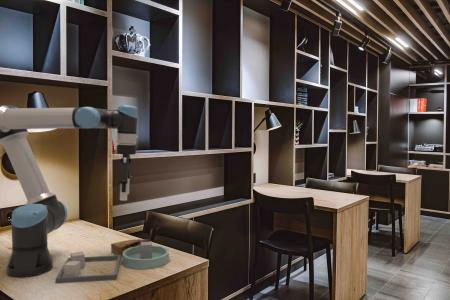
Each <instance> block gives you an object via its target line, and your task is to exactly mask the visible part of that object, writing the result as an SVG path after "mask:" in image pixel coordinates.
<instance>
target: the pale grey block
mask: <svg viewBox="0 0 450 300" xmlns="http://www.w3.org/2000/svg"><path fill="white" fill-rule="evenodd" d="M69 253H70V254H69V255H70V258H71V261H80V269H84V268H86V262H85V257H86V255H85V253H84V251H82V250H81V251H76V252H69Z"/></svg>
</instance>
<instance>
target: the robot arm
mask: <svg viewBox="0 0 450 300" xmlns="http://www.w3.org/2000/svg"><path fill="white" fill-rule="evenodd" d="M138 118H139V117H138V107H136V106H135V105H126V104H123V105H122V104H120V105H118V107H117V109H107V108H106V109H103V108H97V107H96V108H95V107H92V106H83V107H23V108H22V107H20V108H19V107H16V106H14V105H9V104H7V105H6V104H4V105H3V104H0V145H2V146H3V148H4V149H5V153H6V154H7V156H8V159H9V161H10V163H11V166H12V169H13V170H14V173H15V175H16V177H17V179H18V182H19V184H20V187H21V188H22V191H23V193H24V195H25V198H26V200H27V202H26V204H25V205H22V206H18V207H16V208H15V209H14V210H13V211H12V213H11V220H10V223H11V246H12V247H11V249H12V251H11V254H10V257H9V259H8V262H7V267H6V273H7V275H8V276H10V277H15V278H27V277H33V276H38V275H42V274H45V273H48V272H49V271H51V270H52V269H53V267H54V264H53V263H54V261H53V258H52V255H51V253H50V250H49V247H48V235H49V234H50V233H52V232H54V231H56V230H58V229H59V228H60V227H62V226H63V225H64V224H65V222H66V221H67V217H68V208H67V206H66V204H65V203H63V202H62V201H60V200H58V198H57V195H56V194H55V193H53V192H50V189H49V188H48V185H47V183H46V180H45V178H44V176H43V173H42V171H41V169H40V166H39V164H38V162H37V160H36V157H35V155H34V153H33V150H32V148H31V146H30V144H29V141H28V139H27V138H28V135H29V131H28V130H38V129H39V130H45V129H52V130H53V129H113V130H115V129H116V130H117V131H116V144H117V145H116V154H117V155H122V157H121V158H120V180H119V181H118V184H119V201H126V202H127V201H128V195H130V185H131V184H130V182H131V181H130V180H131V179H132V175H131V173H130V172H131V164H132V158H131V155H133V156H134V155H136V154H137V146H136V144H137V139H139V137H138V135H137V133H138V132H137V131H138V130H137V127H138Z"/></svg>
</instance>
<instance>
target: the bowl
mask: <svg viewBox="0 0 450 300" xmlns="http://www.w3.org/2000/svg"><path fill="white" fill-rule="evenodd" d="M169 251H170V250H169V249H168V248H166V247H165V246H162V245H156V244H152V259H141V245H140V246H136V247H131V248H128V249H126V250H125V251H123V255H122V257H121V261H122V262H121V263H122V265H123V266H125V267H126V268H130V269H135V270H148V269H150V270H151V269H155V268H159V267H162V266H163V267H164V265H166V264H168V263H169V262H170V252H169Z"/></svg>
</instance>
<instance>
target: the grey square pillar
mask: <svg viewBox="0 0 450 300" xmlns="http://www.w3.org/2000/svg"><path fill="white" fill-rule="evenodd" d="M152 245H153V241H150V242H141V259H152Z"/></svg>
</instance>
